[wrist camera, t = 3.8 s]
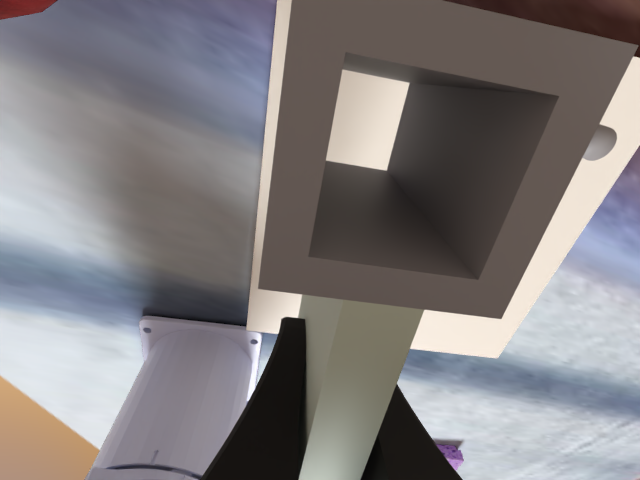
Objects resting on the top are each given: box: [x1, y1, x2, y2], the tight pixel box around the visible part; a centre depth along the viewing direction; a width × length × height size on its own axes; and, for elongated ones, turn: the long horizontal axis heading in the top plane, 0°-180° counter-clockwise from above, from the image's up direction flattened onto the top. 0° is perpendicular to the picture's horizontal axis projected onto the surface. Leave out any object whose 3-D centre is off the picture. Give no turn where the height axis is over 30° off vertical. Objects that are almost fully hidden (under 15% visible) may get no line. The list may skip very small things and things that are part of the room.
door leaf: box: [258, 0, 639, 480], centre depth 9 cm, size 13×4×6 cm, turn 170°
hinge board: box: [246, 0, 640, 358], centre depth 17 cm, size 18×17×5 cm
